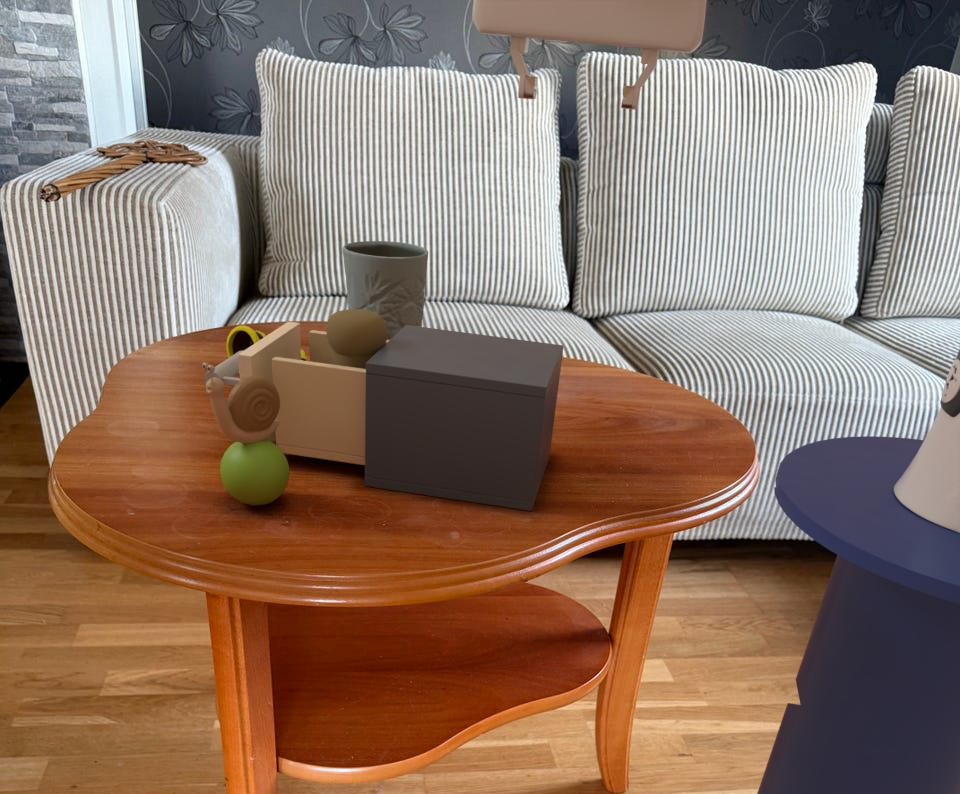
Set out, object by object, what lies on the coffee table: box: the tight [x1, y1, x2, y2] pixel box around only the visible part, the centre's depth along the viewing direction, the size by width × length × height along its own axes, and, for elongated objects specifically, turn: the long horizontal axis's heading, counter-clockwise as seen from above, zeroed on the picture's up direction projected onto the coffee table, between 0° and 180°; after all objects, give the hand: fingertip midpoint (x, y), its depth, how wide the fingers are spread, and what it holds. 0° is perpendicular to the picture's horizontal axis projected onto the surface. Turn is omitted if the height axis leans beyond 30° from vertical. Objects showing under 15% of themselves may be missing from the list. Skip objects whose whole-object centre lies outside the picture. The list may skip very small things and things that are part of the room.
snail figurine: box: [201, 361, 290, 506], centre depth 71 cm, size 5×6×12 cm
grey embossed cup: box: [342, 240, 429, 340], centre depth 110 cm, size 10×10×12 cm
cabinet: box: [364, 325, 564, 512], centre depth 80 cm, size 15×13×11 cm
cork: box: [325, 308, 387, 369], centre depth 79 cm, size 6×6×11 cm
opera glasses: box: [225, 324, 307, 360], centre depth 100 cm, size 10×5×5 cm, turn 40°
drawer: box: [203, 321, 389, 466], centre depth 82 cm, size 18×12×9 cm, turn 79°
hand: (577, 104), depth 82 cm, fingers open, 8 cm apart
